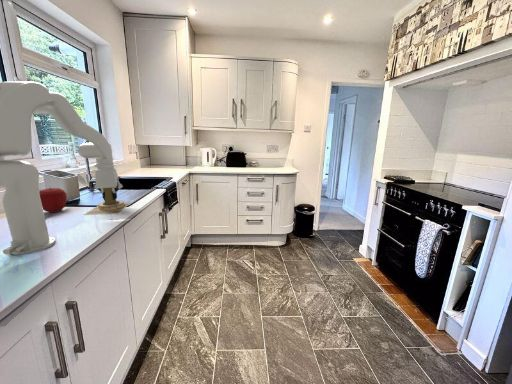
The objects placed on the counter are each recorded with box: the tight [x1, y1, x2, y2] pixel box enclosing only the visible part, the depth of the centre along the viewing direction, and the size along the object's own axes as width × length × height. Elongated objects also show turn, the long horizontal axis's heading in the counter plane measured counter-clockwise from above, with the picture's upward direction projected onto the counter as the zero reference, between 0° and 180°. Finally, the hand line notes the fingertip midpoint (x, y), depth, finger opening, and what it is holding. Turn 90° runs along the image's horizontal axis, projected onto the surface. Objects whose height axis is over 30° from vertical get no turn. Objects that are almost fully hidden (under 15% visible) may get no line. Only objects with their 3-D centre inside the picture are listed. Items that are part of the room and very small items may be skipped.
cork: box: [103, 188, 117, 205], centre depth 129 cm, size 6×6×11 cm
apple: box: [39, 187, 68, 214], centre depth 123 cm, size 12×12×13 cm
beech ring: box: [97, 199, 125, 210], centre depth 131 cm, size 12×12×2 cm
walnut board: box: [83, 201, 132, 216], centre depth 128 cm, size 20×16×1 cm
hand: (110, 199), depth 130 cm, fingers closed on cork, 4 cm apart
